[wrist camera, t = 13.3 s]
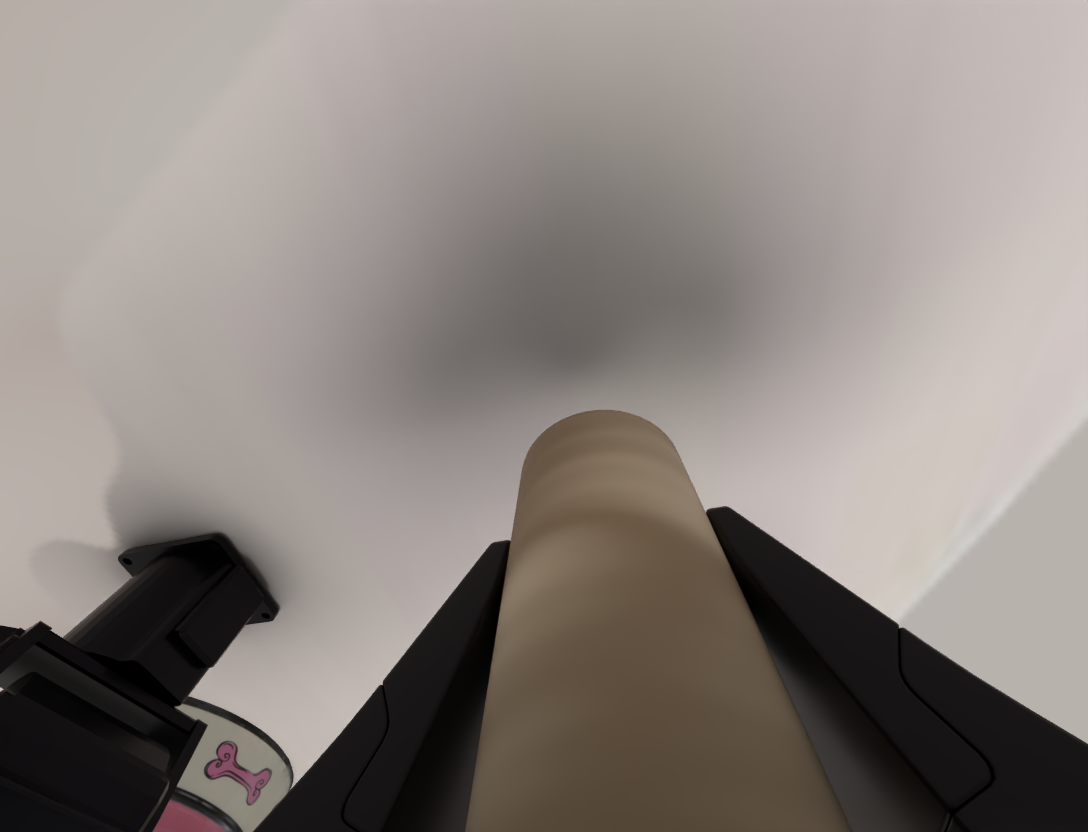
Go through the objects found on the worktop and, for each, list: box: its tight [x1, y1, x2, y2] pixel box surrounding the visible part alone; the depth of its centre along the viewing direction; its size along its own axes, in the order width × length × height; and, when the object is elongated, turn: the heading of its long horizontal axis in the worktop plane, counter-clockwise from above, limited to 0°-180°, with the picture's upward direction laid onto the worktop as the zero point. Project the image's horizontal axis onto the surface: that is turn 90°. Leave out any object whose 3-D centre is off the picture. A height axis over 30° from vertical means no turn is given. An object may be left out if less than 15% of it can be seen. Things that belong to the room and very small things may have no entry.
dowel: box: [465, 410, 853, 832], centre depth 7 cm, size 4×4×8 cm
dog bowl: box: [153, 696, 293, 832], centre depth 31 cm, size 18×19×7 cm
